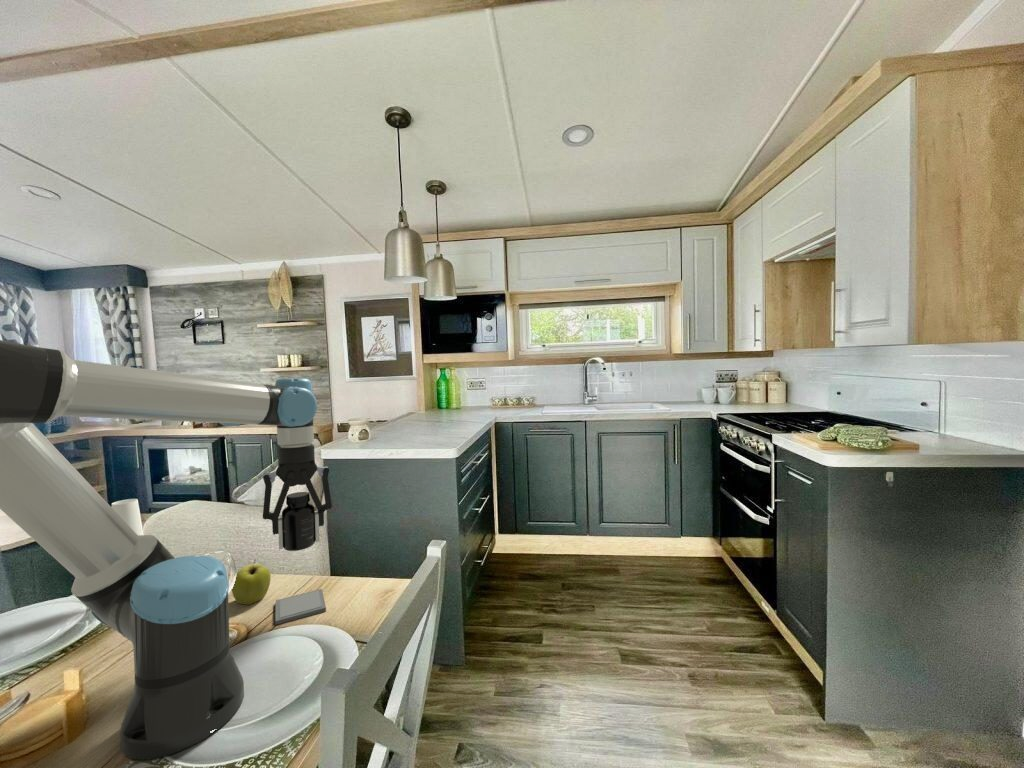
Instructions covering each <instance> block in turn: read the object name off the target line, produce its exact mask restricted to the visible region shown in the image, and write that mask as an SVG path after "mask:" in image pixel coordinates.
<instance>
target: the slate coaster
mask: <svg viewBox="0 0 1024 768" xmlns="http://www.w3.org/2000/svg"><path fill="white" fill-rule="evenodd" d="M326 611H327V606H326V601H325V596H324V592H323V589H322V588H320V589H315V590H311V591H307V592H304V593H303V592H302V593H300V594H295V595H292V596H287V597H283V598H279V599H276V600H275V620H274V621H275V626H278V625H280V624H284V623H287V622H292V621H295V620H299V619H301V618H305V617H310V616H312V615H313V616H314V615H316V614H317V615H318V614H320V613H324V612H326Z"/></svg>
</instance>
